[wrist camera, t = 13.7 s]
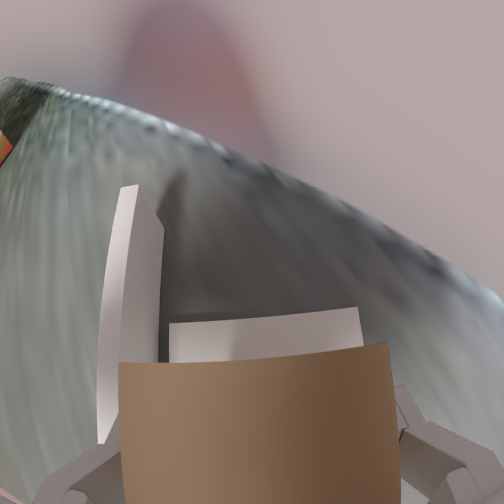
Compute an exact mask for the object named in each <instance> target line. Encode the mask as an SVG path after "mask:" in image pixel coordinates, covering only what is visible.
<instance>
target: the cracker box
mask: <svg viewBox="0 0 504 504" xmlns="http://www.w3.org/2000/svg"><path fill="white" fill-rule="evenodd" d="M12 148H13V146H12V145H11V143H10V142H9V141H8V139H7V138H6V137H5V135H4V134H3V133H2V131H1V130H0V165H1V163H2V162H3V161H4V159H5V158H6V156H7V155H8V154H9V153H10V151H11V150H12Z"/></svg>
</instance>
